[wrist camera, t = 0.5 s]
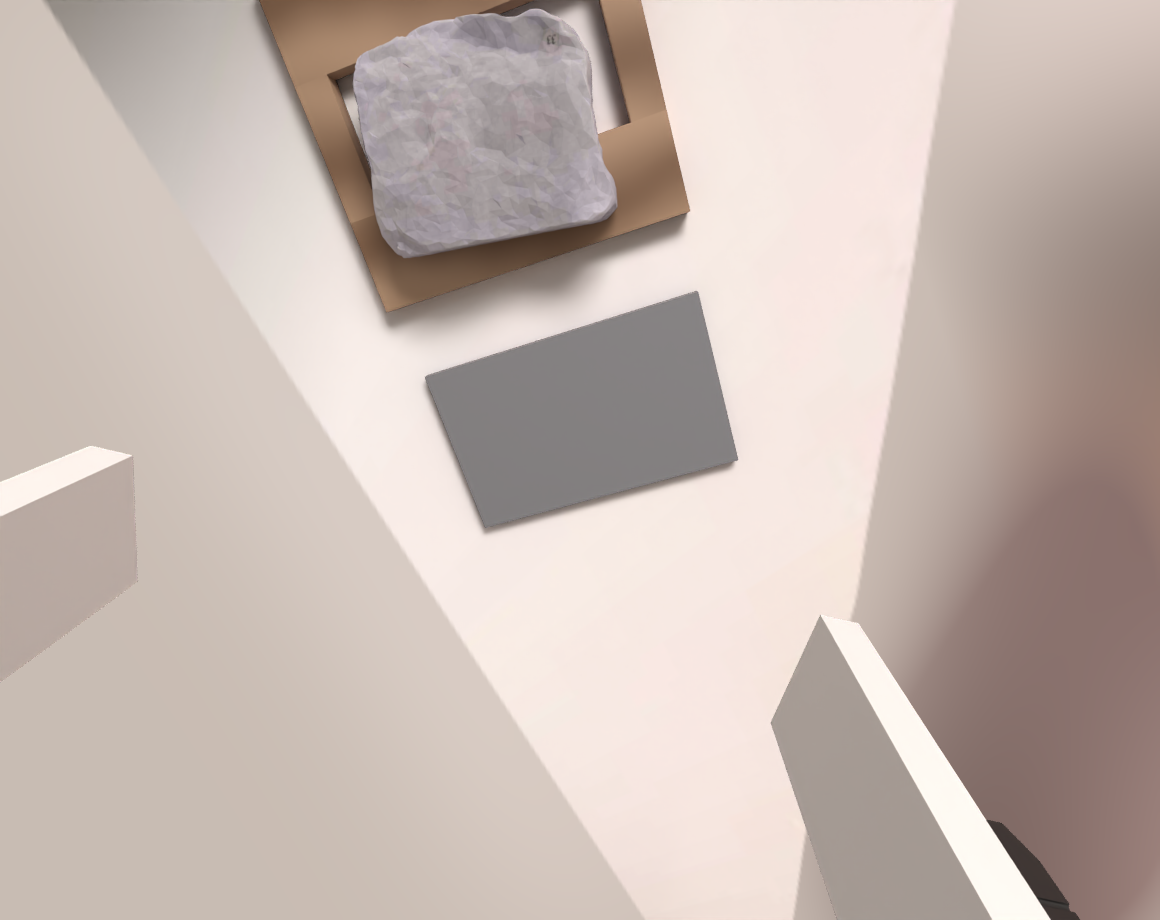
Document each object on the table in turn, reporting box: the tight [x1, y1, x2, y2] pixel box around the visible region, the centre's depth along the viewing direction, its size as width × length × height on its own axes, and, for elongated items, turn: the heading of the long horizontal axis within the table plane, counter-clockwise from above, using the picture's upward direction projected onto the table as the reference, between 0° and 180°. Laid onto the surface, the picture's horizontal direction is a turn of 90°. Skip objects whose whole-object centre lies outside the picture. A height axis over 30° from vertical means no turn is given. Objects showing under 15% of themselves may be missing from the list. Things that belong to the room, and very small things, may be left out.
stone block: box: [353, 9, 617, 258], centre depth 29 cm, size 12×5×10 cm
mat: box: [425, 291, 738, 528], centre depth 35 cm, size 10×16×1 cm, turn 107°
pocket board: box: [259, 0, 690, 312], centre depth 29 cm, size 16×17×1 cm
